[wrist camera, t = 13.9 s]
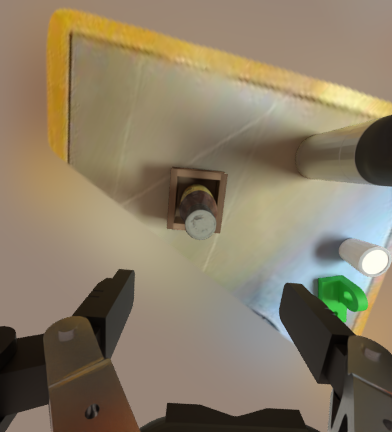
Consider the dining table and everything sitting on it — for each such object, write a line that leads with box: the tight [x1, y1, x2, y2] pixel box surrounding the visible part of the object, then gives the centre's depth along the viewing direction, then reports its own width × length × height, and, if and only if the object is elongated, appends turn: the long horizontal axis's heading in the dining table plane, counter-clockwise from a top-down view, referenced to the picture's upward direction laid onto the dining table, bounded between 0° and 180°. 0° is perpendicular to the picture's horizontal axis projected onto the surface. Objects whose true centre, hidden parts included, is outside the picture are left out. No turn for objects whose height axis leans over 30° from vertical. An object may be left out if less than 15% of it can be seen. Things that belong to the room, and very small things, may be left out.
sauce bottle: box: [179, 184, 217, 240], centre depth 35 cm, size 7×6×20 cm
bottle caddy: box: [167, 167, 228, 233], centre depth 43 cm, size 11×12×7 cm
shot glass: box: [339, 238, 392, 277], centre depth 46 cm, size 7×7×7 cm
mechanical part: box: [318, 275, 368, 322], centre depth 49 cm, size 12×6×8 cm, turn 8°
